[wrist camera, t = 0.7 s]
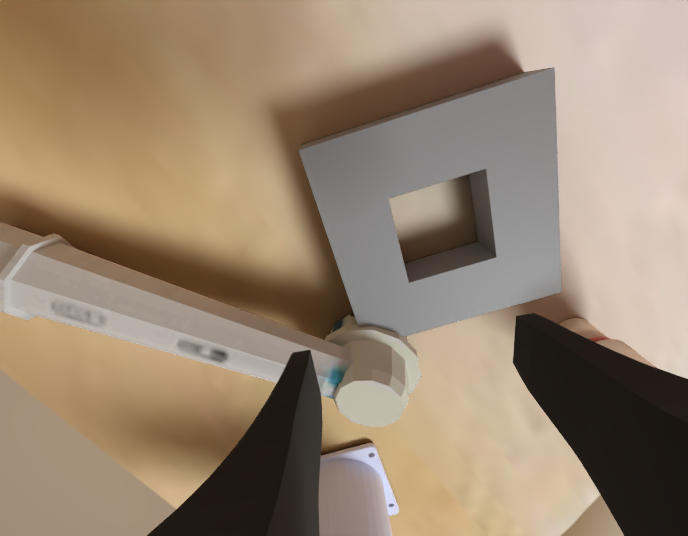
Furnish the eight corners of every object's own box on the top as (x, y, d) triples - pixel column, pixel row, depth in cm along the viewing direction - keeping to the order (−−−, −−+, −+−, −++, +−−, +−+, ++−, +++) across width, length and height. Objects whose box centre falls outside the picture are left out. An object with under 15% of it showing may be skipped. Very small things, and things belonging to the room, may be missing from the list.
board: (537, 273, 23) (561, 292, 21) (360, 324, 24) (365, 347, 21) (524, 72, 18) (554, 67, 16) (300, 144, 19) (298, 150, 16)
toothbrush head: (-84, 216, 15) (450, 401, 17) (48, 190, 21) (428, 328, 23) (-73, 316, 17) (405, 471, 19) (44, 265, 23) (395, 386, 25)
